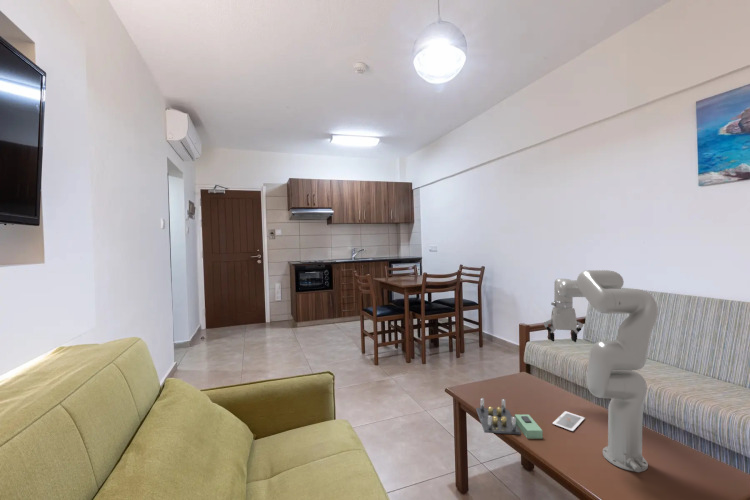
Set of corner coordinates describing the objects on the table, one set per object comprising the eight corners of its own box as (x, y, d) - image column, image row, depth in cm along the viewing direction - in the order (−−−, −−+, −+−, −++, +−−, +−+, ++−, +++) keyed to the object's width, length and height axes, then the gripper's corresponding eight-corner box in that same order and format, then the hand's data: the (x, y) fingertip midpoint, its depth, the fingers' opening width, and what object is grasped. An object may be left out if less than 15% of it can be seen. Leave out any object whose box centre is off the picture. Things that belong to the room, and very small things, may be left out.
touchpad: (585, 420, 143) (585, 415, 143) (572, 433, 133) (572, 428, 133) (565, 413, 149) (565, 408, 149) (552, 425, 139) (552, 420, 139)
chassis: (520, 434, 132) (521, 419, 131) (484, 432, 133) (484, 417, 133) (508, 411, 149) (508, 398, 149) (476, 410, 151) (476, 397, 151)
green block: (542, 439, 129) (542, 429, 129) (527, 439, 129) (527, 429, 129) (528, 422, 141) (528, 413, 141) (514, 422, 141) (514, 413, 141)
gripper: (546, 306, 155) (546, 342, 155) (586, 306, 152) (586, 344, 153) (541, 303, 162) (540, 338, 162) (579, 304, 160) (578, 339, 160)
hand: (563, 341), depth 157 cm, fingers open, 9 cm apart
